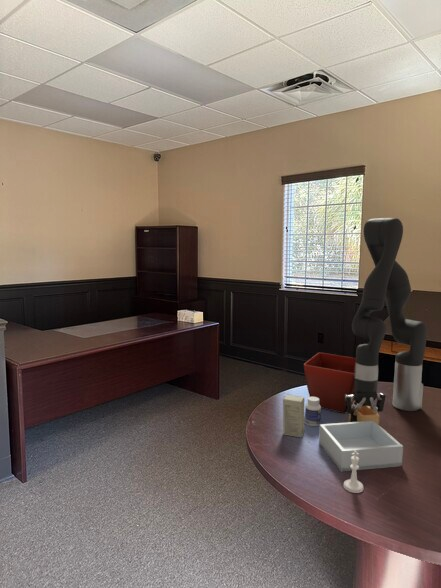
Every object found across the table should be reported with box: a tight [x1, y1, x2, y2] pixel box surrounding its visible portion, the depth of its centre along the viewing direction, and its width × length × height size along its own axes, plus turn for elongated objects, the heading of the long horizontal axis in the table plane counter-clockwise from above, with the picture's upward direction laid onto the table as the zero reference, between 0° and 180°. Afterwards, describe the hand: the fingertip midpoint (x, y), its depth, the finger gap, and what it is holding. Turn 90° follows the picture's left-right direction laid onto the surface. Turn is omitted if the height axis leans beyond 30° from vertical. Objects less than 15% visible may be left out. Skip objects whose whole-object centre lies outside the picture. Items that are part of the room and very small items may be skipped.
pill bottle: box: [304, 396, 322, 427], centre depth 141 cm, size 5×5×9 cm
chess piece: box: [343, 451, 364, 494], centre depth 106 cm, size 5×5×10 cm
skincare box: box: [282, 394, 305, 438], centre depth 134 cm, size 6×4×12 cm
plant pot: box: [303, 352, 356, 414], centre depth 156 cm, size 19×19×17 cm
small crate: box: [348, 404, 380, 426], centre depth 139 cm, size 6×9×6 cm, turn 9°
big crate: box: [318, 421, 404, 473], centre depth 122 cm, size 18×16×6 cm
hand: (363, 423), depth 139 cm, fingers closed on small crate, 6 cm apart
